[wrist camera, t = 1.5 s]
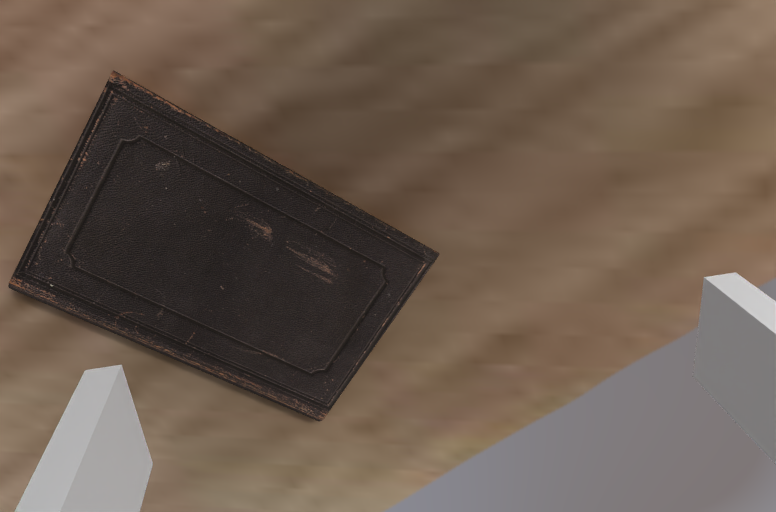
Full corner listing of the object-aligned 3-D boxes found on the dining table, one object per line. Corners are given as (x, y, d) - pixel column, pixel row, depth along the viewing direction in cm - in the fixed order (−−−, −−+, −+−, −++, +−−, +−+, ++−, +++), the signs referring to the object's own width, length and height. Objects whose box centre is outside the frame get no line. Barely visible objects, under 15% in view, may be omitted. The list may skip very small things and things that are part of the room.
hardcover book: (121, 65, 40) (112, 71, 38) (433, 241, 48) (439, 254, 46) (17, 276, 45) (4, 291, 42) (317, 407, 52) (318, 426, 50)
